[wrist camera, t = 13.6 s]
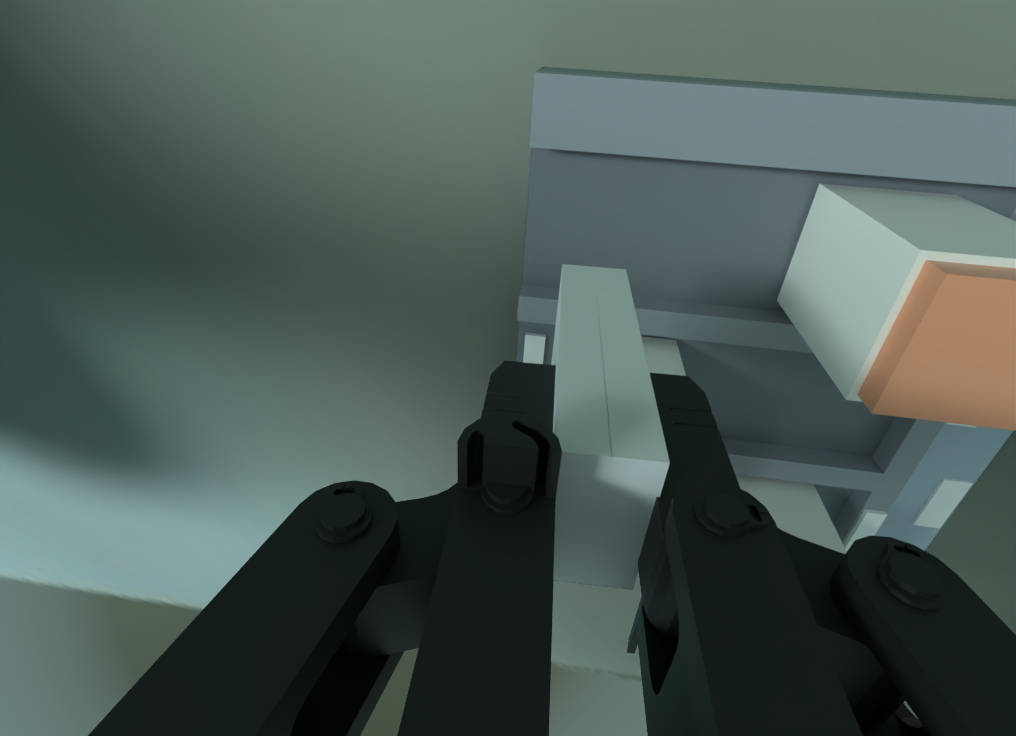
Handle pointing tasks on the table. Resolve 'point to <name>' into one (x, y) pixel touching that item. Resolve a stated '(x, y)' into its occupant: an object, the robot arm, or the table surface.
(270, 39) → the table surface
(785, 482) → the orange topped white block
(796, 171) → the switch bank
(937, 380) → the white orange-topped block
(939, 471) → the label card
